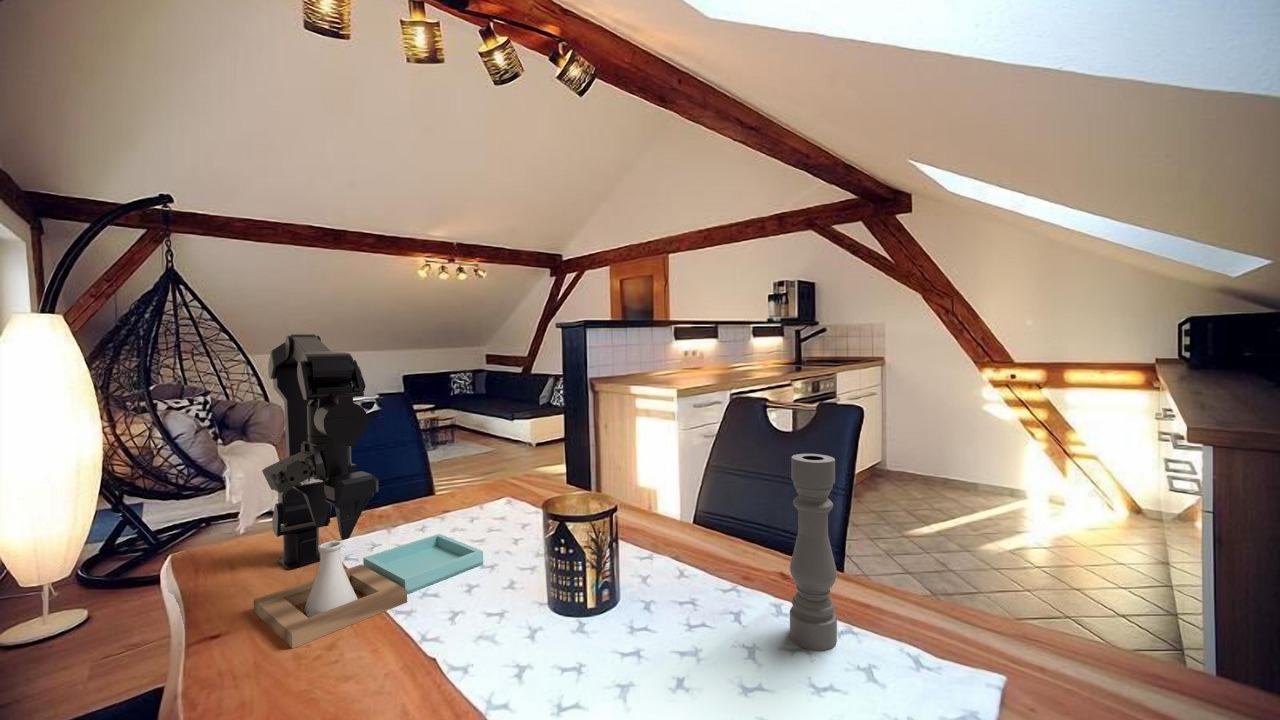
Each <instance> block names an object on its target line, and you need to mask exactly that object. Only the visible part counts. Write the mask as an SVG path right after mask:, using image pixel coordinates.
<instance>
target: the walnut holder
mask: <svg viewBox="0 0 1280 720" xmlns="http://www.w3.org/2000/svg"><path fill="white" fill-rule="evenodd" d="M344 570H345V572H346V575H347V577H348V579H349V582H350V584H351V586H352V588H353V589H354V590H357V591H358V592H359V593H361V594H363V595H364V596H363V597H361V598H358V599H357V600H355V601H352V602H349V603H347V604H344V605H341V606H339V607H336V608H333V609H331V610H328V611H325V612H323V613H320V614H317V615H315V616H312V617H309V616H307V615H305V614H304V613H303V612H302V611H300V610H299V608H297V606H299V605H302V604H306V602H307V600H308V597H309V595H310V592H311V590H312V587H313V584H314V581H315V579H311V580H309V581H306V582H302V583H300V584H297V585H293V586H291V587H288V588H284V589H281V590H279V591H275V592H272V593H268V594H266V595H265V594H264V595H263V596H259V597H257V598H253V612H254V614H255V615H256V616H257V617H259V618H260V619H261V620H262V621H263V622H264V623H265V624H266V625H267V626H268V627H269V628H270V629H271V630H272V631H273V632H274V633H275V634H277V636H278V637H280V639H282V640H283V642H284V643H286V644H287V645H288V646H289V647H290V648H291V649H296V648H297V647H300V646H302V645H305V644H307V643H310V642H312V641H315V640H317V639H320V638H322V637H325V636H327V635H330V634H333V633H334V632H337V631H339V630H342V629H344V628H347V627H349V626H351V625H355V624H357V623H359V622H361V621H364V620H368V619H369V618H371V617H374V616H376V615H378V614H381V613H384V612H386V611H388V610H391V609H393V608H395V607H396V608H397V607H399V606H401V605H403V604H406V603H408V594H407V589H405V588H403V587H401V586H399V585H398V584H396V583H394V582H392V581H390V580H389V579H387V578H385V577H383V576H381V575H380V574H378V573H376V572H374V571H372V570H371V569H369V568H367V567H365V566H363V564H358V565H355V566H352V567H349V568H347V569H345V568H344Z"/></svg>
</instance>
